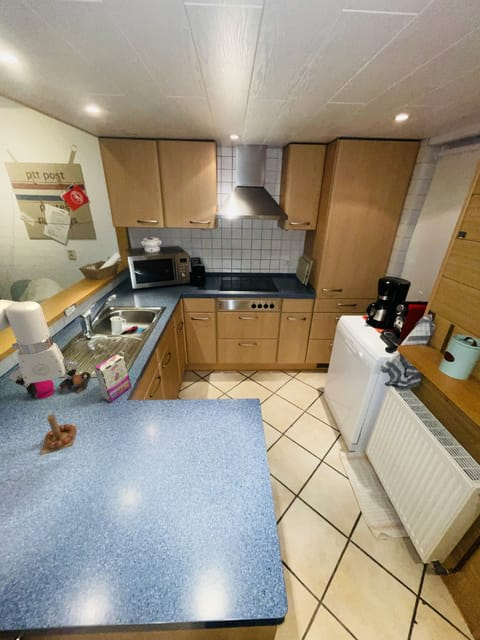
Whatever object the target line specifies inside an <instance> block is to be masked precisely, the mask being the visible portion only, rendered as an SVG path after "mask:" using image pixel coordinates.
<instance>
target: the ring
mask: <svg viewBox="0 0 480 640" xmlns="http://www.w3.org/2000/svg"><path fill="white" fill-rule="evenodd" d="M58 426H59V428H60V431H64V430H67V431H69V434H68V436H67V437H66V438H64V439H62V440H60V441H57V442H52V441H51V439H52V437H53V436H54V434H53V432H52V429H51V430H50V431H48V432H49V433H48V434H47V433H46V434H47V435H45V436H44V439H43V444H44V445H45V446H46V447H47V448H52V449H55V448H59V447H62V446H64V445H66V444H67V443H69V442H70V441H71V440H72V439H73V438H74V439H75V437H76V434H77V427H76V428H75V427H74V426H73V424H69V423H65V424H61V425H58ZM74 436H75V437H74Z"/></svg>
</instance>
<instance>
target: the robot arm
mask: <svg viewBox="0 0 480 640" xmlns="http://www.w3.org/2000/svg"><path fill="white" fill-rule="evenodd" d="M8 328H11V330H12V333H13V336H14V338H15V340H16V342H15V343H12V344H11V347H12V349H18V352H17V361H18V366H19V369H17V370H15V371H14V372H12V373H11V374H10V375H9V377H8V378H9V380H11V381H12V382H15V384H16V385H19V386H21V387H23V389H26V392H27V394H28V395H30V397H31V399H34V398H36V393H37V389H36V387H35V384H34V383H35V382H41V381H46V380H51V381H52V380H56V379H60V378H62V377H63V378H65V379H66V383H67V386H68V389H67V390H68V391H71V390H73V386H74V380H73V377H72V376H73V375H74V374H77V371H78V368H79V365H80V363H79V362H78V361H73V360H67V359H65V357H64V356H63V353H62V351H61V350H60V348H59V346H58V345H57V343H55V342H53V338H52V335H51V332H50V329H49V327H48V323H47V321H46V317H45V314H44V311H43V308H42V306H41V304H40V303H38V302H37V301H33V300H32V301H31V300H30V301H27V300H26V301H16V300H15V301H14V300H10V299H0V332H2V331H4V330H6V329H8ZM67 367H71V369H69V368H67ZM20 376H21V377H20Z"/></svg>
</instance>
